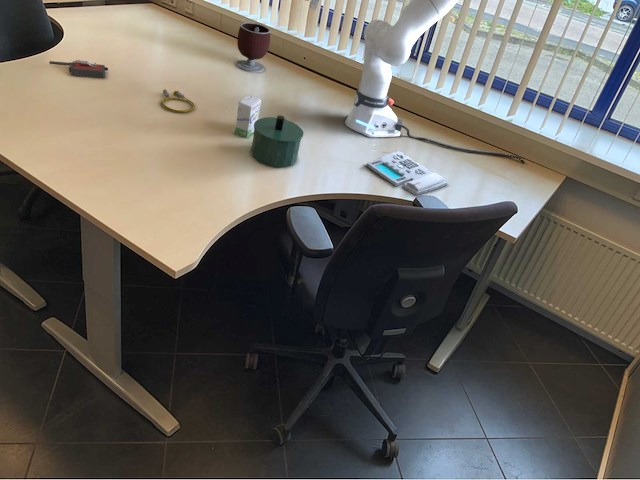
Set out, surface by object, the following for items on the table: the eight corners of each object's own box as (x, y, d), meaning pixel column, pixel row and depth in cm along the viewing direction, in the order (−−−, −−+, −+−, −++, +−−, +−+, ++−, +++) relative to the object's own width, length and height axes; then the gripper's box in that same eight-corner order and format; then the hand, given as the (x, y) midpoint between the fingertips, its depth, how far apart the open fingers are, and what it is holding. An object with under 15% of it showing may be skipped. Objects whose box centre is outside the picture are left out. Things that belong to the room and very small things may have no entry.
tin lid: (296, 122, 187) (299, 108, 184) (308, 145, 175) (311, 131, 172) (249, 118, 181) (251, 103, 178) (258, 142, 169) (260, 127, 166)
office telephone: (449, 179, 192) (416, 192, 179) (447, 185, 193) (413, 198, 180) (400, 147, 203) (365, 157, 190) (398, 153, 205) (363, 164, 192)
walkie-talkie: (108, 69, 209) (49, 64, 202) (107, 58, 206) (48, 53, 199) (108, 79, 202) (48, 74, 195) (108, 67, 200) (47, 62, 193)
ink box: (246, 138, 189) (251, 106, 182) (233, 133, 190) (238, 102, 183) (256, 129, 196) (261, 99, 189) (244, 125, 196) (248, 94, 190)
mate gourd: (233, 58, 247) (239, 13, 235) (264, 63, 250) (271, 18, 239) (235, 71, 235) (241, 24, 223) (267, 76, 238) (274, 30, 227)
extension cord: (196, 97, 206) (197, 92, 205) (193, 115, 194) (193, 110, 192) (163, 92, 204) (163, 87, 202) (157, 110, 191) (157, 105, 190)
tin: (290, 146, 191) (295, 121, 186) (300, 168, 180) (306, 143, 174) (247, 143, 186) (251, 117, 181) (255, 166, 175) (259, 140, 169)
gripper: (337, -32, 163) (326, 15, 171) (320, -48, 178) (311, -4, 186) (317, -36, 161) (307, 12, 169) (301, -52, 176) (293, -7, 184)
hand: (309, 4), depth 178 cm, fingers open, 8 cm apart
